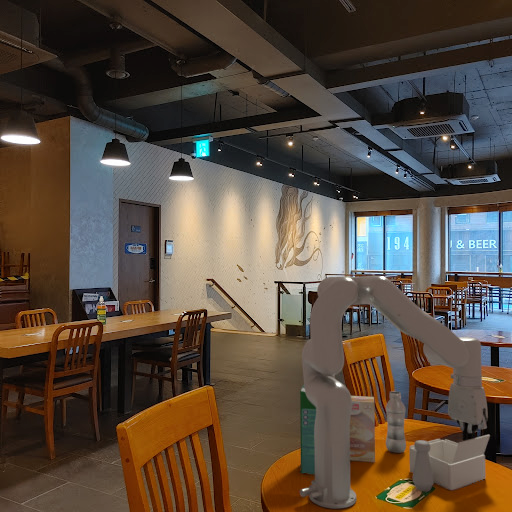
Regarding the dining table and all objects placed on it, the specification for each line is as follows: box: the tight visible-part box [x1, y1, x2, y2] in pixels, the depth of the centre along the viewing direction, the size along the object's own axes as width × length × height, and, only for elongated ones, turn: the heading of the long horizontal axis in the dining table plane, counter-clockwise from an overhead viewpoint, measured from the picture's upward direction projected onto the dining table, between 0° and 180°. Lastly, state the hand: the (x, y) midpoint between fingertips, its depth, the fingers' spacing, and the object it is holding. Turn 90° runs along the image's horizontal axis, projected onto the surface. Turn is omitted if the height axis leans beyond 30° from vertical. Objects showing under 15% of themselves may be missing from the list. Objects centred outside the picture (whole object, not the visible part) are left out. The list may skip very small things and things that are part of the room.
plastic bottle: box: [385, 390, 407, 454], centre depth 162 cm, size 6×7×20 cm
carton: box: [409, 438, 486, 492], centre depth 142 cm, size 16×16×7 cm
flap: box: [452, 434, 491, 463], centre depth 135 cm, size 13×6×1 cm
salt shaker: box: [412, 439, 435, 492], centre depth 134 cm, size 6×6×13 cm
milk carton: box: [299, 384, 316, 475], centre depth 148 cm, size 9×9×25 cm
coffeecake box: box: [350, 395, 376, 463], centre depth 157 cm, size 15×7×20 cm, turn 77°
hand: (469, 445), depth 136 cm, fingers closed
